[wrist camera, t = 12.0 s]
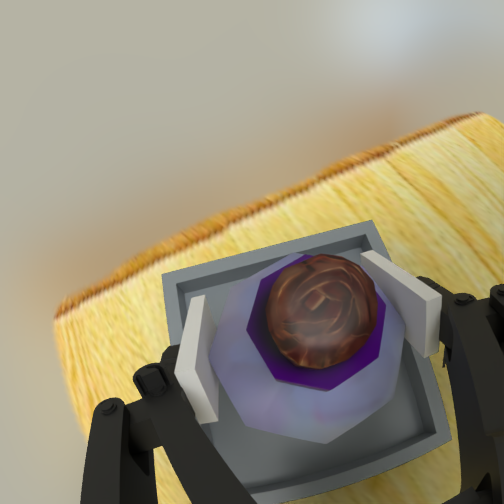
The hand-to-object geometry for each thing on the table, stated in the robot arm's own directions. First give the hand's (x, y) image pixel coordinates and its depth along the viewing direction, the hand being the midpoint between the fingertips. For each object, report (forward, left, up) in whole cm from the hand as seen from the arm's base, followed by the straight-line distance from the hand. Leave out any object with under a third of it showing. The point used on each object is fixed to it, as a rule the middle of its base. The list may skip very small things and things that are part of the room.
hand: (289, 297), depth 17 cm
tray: (0, +3, -7) cm, 7 cm away
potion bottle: (0, +3, -4) cm, 5 cm away
